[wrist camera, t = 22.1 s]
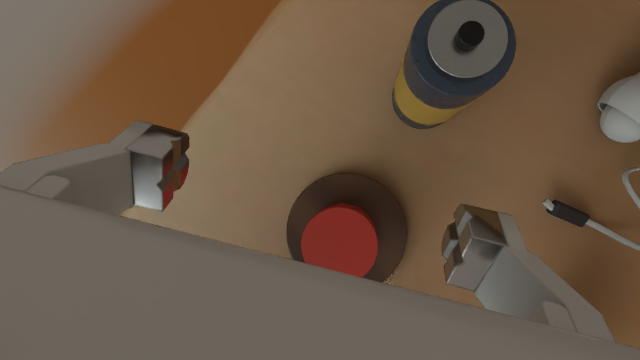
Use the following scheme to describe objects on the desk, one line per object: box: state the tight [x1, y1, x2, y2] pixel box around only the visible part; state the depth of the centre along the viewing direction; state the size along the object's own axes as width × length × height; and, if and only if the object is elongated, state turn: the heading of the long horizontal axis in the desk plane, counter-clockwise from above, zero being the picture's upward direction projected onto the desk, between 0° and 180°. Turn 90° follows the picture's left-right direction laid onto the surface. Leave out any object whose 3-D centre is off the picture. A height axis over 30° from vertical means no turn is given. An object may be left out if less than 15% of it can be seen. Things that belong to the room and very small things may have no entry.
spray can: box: [392, 0, 516, 129], centre depth 28 cm, size 5×5×16 cm
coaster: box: [287, 173, 407, 282], centre depth 36 cm, size 10×10×1 cm
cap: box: [301, 202, 378, 277], centre depth 33 cm, size 6×6×5 cm
